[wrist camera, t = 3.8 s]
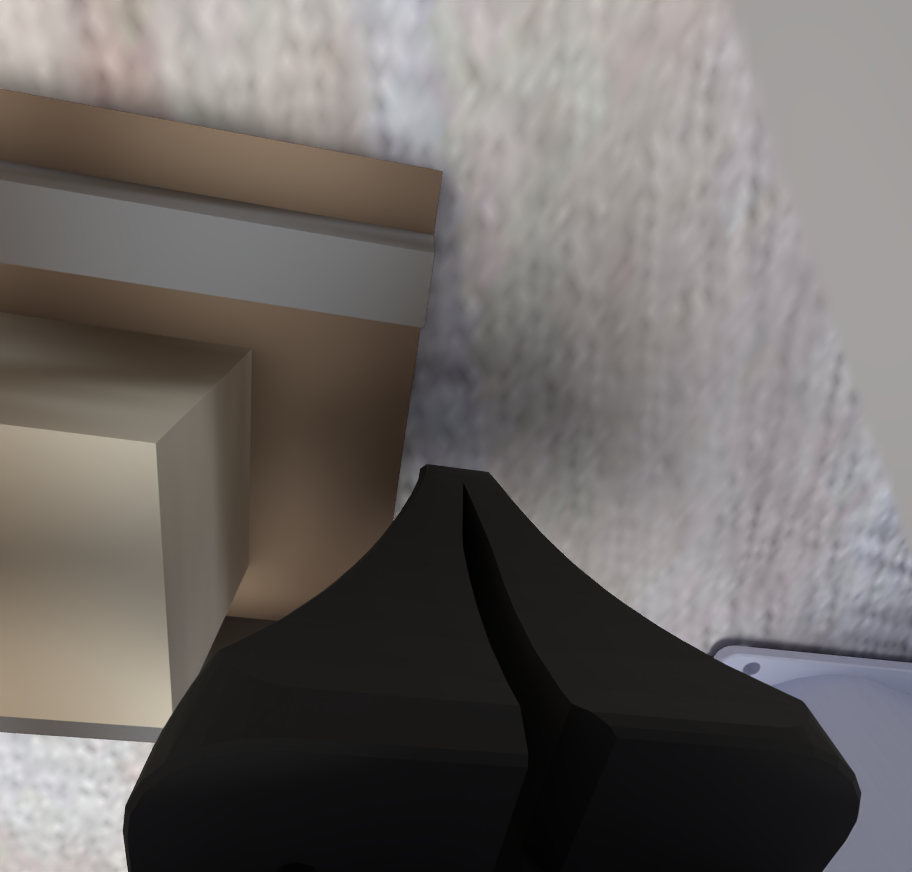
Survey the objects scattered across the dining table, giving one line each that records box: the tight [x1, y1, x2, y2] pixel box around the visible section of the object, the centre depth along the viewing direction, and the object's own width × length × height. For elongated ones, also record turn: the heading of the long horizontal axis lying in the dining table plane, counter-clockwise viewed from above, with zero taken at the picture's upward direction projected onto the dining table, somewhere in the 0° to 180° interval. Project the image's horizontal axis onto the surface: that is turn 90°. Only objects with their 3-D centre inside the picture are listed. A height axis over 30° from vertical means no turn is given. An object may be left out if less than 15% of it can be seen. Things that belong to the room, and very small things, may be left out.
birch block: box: [0, 312, 252, 728], centre depth 9 cm, size 5×5×4 cm
